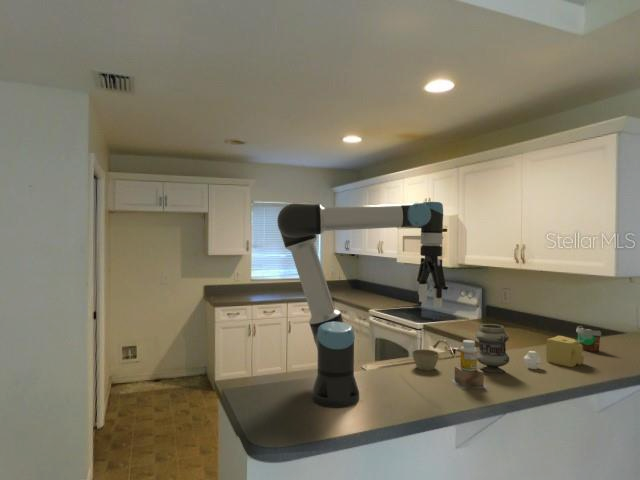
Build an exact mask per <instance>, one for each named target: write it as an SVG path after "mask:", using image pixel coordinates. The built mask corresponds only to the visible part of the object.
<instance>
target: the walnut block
mask: <svg viewBox="0 0 640 480" xmlns="http://www.w3.org/2000/svg"><path fill="white" fill-rule="evenodd" d="M454 380H455V381H456V382H457V383H459V384H460V385H462V386H463V387H483V386H484V385H485V384H484V383H485V381H484V380H485V379H484V370H481V369H480V368H478V367H477V370H476V371H465V370H463V369H461V365H459V366H458V365H456V366H454Z"/></svg>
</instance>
